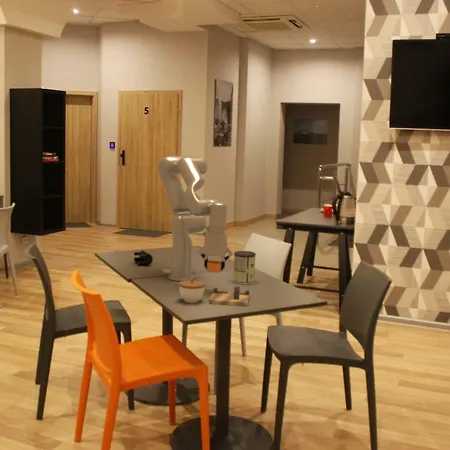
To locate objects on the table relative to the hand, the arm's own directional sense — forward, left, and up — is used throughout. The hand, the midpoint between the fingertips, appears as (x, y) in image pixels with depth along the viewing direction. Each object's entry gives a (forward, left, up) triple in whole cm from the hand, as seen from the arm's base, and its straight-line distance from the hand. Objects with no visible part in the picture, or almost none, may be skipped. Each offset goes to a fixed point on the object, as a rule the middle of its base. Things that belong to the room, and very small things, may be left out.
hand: (214, 268), depth 284 cm
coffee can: (+12, +22, -11) cm, 27 cm away
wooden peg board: (+9, -13, -10) cm, 19 cm away
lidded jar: (-7, -18, -11) cm, 22 cm away
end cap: (-43, +45, -11) cm, 63 cm away
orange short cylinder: (0, 0, -1) cm, 1 cm away
